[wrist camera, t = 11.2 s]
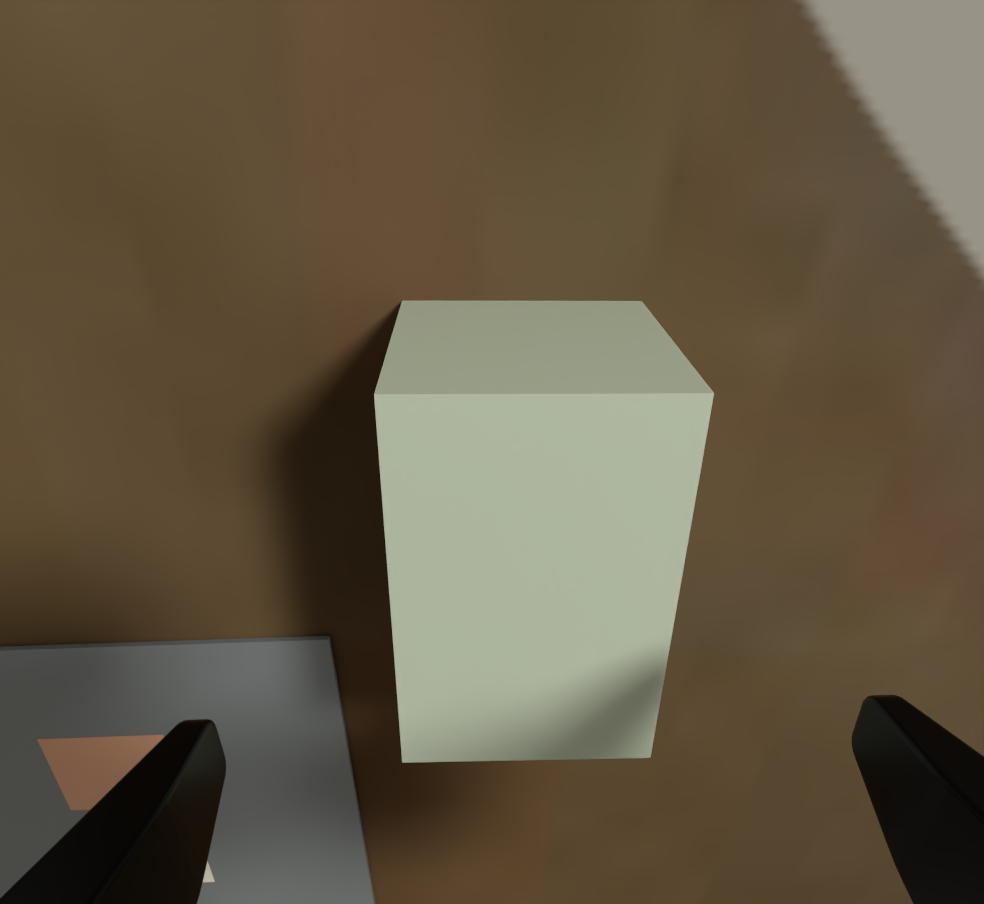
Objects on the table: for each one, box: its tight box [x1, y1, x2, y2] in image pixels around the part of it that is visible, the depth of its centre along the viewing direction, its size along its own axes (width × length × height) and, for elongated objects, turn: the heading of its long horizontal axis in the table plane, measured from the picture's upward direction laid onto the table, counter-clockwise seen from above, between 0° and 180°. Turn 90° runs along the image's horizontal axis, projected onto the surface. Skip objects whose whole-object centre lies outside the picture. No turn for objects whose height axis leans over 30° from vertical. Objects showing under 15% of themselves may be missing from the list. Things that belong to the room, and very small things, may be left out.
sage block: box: [374, 301, 714, 763], centre depth 14 cm, size 5×8×5 cm, turn 0°
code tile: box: [0, 636, 375, 904], centre depth 22 cm, size 14×14×1 cm
